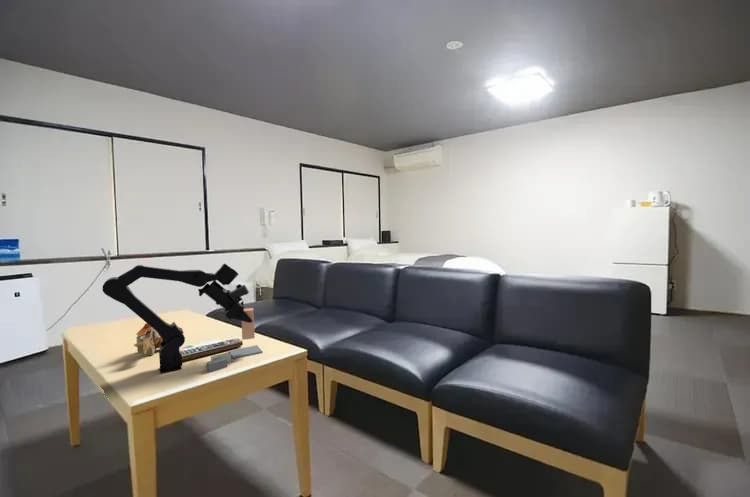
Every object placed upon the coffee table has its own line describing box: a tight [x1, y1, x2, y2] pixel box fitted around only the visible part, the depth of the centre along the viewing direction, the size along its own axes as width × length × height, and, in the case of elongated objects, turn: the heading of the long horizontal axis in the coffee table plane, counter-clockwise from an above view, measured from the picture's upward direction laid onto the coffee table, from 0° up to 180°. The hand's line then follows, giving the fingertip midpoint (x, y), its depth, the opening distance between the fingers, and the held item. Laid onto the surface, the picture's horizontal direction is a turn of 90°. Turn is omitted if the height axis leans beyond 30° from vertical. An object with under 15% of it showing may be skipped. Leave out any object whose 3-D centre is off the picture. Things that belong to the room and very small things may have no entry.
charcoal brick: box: [206, 357, 229, 373], centre depth 125 cm, size 6×3×3 cm, turn 135°
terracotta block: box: [241, 307, 256, 340], centre depth 138 cm, size 4×4×11 cm
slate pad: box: [228, 345, 263, 360], centre depth 141 cm, size 11×9×1 cm
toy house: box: [136, 322, 163, 356], centre depth 139 cm, size 8×21×14 cm, turn 19°
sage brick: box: [210, 351, 232, 364], centre depth 130 cm, size 6×3×3 cm, turn 132°
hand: (251, 320), depth 138 cm, fingers closed on terracotta block, 4 cm apart
